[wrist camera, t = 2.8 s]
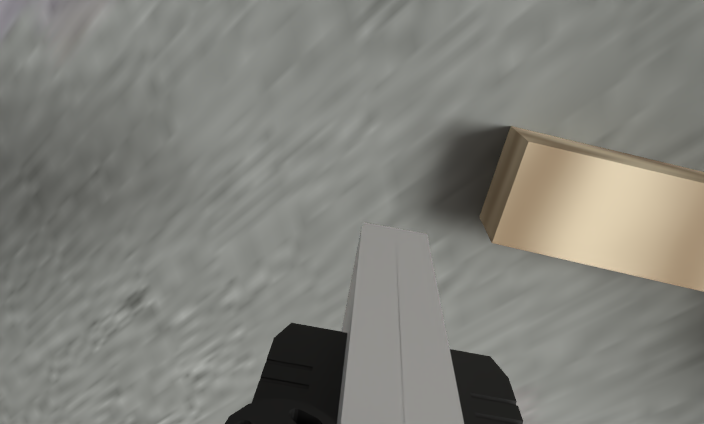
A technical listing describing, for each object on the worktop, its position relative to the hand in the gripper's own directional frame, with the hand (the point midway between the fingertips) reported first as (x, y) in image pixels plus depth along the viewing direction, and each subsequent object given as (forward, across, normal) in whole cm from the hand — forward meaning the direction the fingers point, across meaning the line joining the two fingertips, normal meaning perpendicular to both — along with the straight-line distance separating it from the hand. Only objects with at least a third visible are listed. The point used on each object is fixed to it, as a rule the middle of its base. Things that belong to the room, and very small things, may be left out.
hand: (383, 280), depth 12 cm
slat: (+10, +12, 0) cm, 16 cm away
